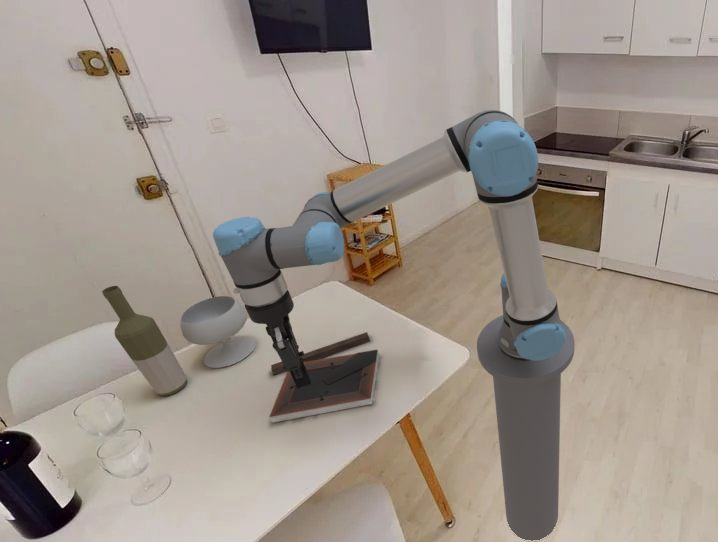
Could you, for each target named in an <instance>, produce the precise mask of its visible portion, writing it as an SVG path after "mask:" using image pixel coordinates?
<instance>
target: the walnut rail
mask: <svg viewBox="0 0 718 542" xmlns="http://www.w3.org/2000/svg"><path fill="white" fill-rule="evenodd" d="M369 342H371V340H370V337H369V334H368V331H366V332H363V333H361V334H357V335H354V336H351V337H348V338H345V339H343V340H339V341H337V342H334V343H331V344H328V345H325V346H321V347H319V348H317V349H313V350H311V351H308V352H304V355H303V356H300V357H299V358H302V360H303V362H307V361H313V360H319V359H325V358H328V357H330V356H333V355H335V354H338V353H341V352H344V351H347V350H350V349H353V348H355V347H359V346H361V345H364V344H367V343H369ZM270 369H271V372H272V374H273V376H276V375H279V374H282V373H284V372H285V373H286V372H288V371H287V370H284V364H283V362H282V361H279V362H276V363H273V364H271V365H270Z"/></svg>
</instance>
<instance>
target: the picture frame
mask: <svg viewBox="0 0 718 542" xmlns="http://www.w3.org/2000/svg"><path fill="white" fill-rule="evenodd" d="M379 359H380V353H379V350H378V349H373V350H366V351H360V352H356V353H350V354H345V355H339V356H333V357H325V358H322V359H319V360H313V361H307V362H304V365H305V367H306V370H307V372H308V374H309V377H310V379H311V384H308V385H306V386H303V387H301V388H298V389H297V386H296V384H295V382H294V380H293V377H292V375H291V373H290V371H289V372H288V371H286V375H285V377H284V380H283V381H282V384H281V387H280V390H279V392H278V394H277V397H276V399H275V402H274V405H273V407H272V410H271V412H270V414H269V420H270V421H271V423H278V422H283V421H291V420H295V419H299V418H305V417H311V416H315V415H321V414H325V413H330V412H336V411H341V410H342V411H343V410H347V409H353V408H356V407H357V408H359V407H362V406H363V407H364V406H367V405H373V402H374V395H375V394H374V393H375V387H376V380H377V373H378V366H379Z"/></svg>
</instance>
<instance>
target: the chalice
mask: <svg viewBox="0 0 718 542" xmlns="http://www.w3.org/2000/svg"><path fill="white" fill-rule="evenodd" d="M247 319H248V313H247V310H246V308H245V306H244V305H243V304H242V303H241V302H240V301H238V300H237V299H236V298H234V297H232V296H228V295H221V296H213V297H210V298H205V299H204V300H201V301H198V302H197V303H195V304H193V305H191V306H190V307H189V308H187V309H186V310H185V311H184V312H183V313H182V315H181V318H180V322H179V323H180V330H181V334H182V337H183V338H184V339H185V340H186V341H187V342H189V343H191V344H192V345H193V344H194V345H198V346H208V345H214V344H216V345H215V346H213V347H212V348H211V349H210V350H209V351H208V352H207V353H206V354H205V356H204V359H203V363H204V365H205V366H206V367H208V368H213V369H219V368H225V367H228V366H231V365H234V364H236V363H238V362H240V361H242V360H244V359H245V358H246V357H248V356H249V355H250V354H251V353H252V352H253V351H254V349H255V348H256V345H257V342H256V339H254V338H253V337H252V336H247V335H246V336H245V335H244V336H242V335H241V336H235V335H236V334H238V333H239V332H240V331H241V330H242V329H243V328H244V326H245V324H246V322H247V321H248V320H247ZM233 336H234V337H233Z"/></svg>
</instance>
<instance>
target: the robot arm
mask: <svg viewBox="0 0 718 542" xmlns="http://www.w3.org/2000/svg"><path fill="white" fill-rule="evenodd" d="M443 132H444V133H443V136H442V137H440V138H438V139H436V140H434V141H432V142H430V143H428V144H425V145H424V146H422V147H420V148H418V149H416V150H413V151H411V152H409V153H407V154H405V155H404V156H401V157H399V158H397V159H395V160H392V161H391V162H388V163H386V164H385V165H383V166H380V167H378V168H377V169H375V170H373V171H369V172H368V173H367V174H364V175H361V176H360V177H358V178H356V179H354V180H352V181H350V182H348V183H346V184H344V185H342V186H340V187H338V188H336V189H333V190H332V191H329V192H328V191H323V192H318V193H315V194H314V195H313V196H311V197H310V198H309V199H308V200H307V202H306V203H305V204H304V206H303V209H302V211H301V212H300V213H299V214H298V217H297V218H296V219H295V221H294V222H293V224H292V225H289V226H282V227H271V228H270V227H269V228H266V227H265V225H264V224H263V222H262V221H261V220H260V219H259V218H258V217H253V216H252V217H250V216H242V217H237V218H232V219H230V220H227V221H224V222H223V223H220V224H219V225H218V226H217V227H216V228H215V229H214V230H213V232H212V238H213V240H214V243H215V246H216V248H217V251H218V255H219V257H220V258H221V259H222V262H223V263H224V265H225V267H226V269H227V271H228V274H229V275H230V277H231V279H232V281H233V284H234V286H235V288H233V293H234V294H239V297H240V299H241V301H242V303H243V304H244V308H245V310H246V313H247V316H248V317H249V319H250V320H251V321H252V323H254V324H259V325H266V326H265V331H266V333H267V335H268V336H269V337H270V339H271V341H272V348H273V349H274V351H275V352H276V353H277V355H278V357H279V359H280V360H281V362H283V364H284V370H287V371H286V372H289V371H290V373H291V375H292V377H293V380H294V382H295V384H296V386H297V389H298V388H301V387H303V386H306V385H308V384H311V379H310V377H309V374H308V372H307V370H306V367H305V365H304V362H303V360H302V358H299V357H300V356H303V355H304V354H305V352H304V350H301V351H300V350H299V348H300V345H298V342H297V339H296V337H295V334H294V332H293V327H292V324H291V321H290V320H291V319H290V316H289V315H290V313H291V312H292V311H293V309H294V308H295V307H294V306H295V305H294V301H293V298H292V296H291V293H290V291H289V290H288V285H287V282H286V280H285V277H284V275H283V272H282V270H285V269H291V268H300V267H308V266H309V267H310V266H320V265H322V266H323V265H325V264H329V263H333V262H337V261H338V262H339V261H340V260H341V259H342V258H343V256H344V253H345V240H344V234H343V231H342V228H344V227H347V226H349V225H350V224H353V223H354V222H356V221H359V220H360V219H363V218H365V217H367V216H369V215H371V214H372V213H373V214H374V213H375V212H377V211H379V210H381V209H384V208H385V207H387V206H390V205H392V204H394V203H396V202H398V201H400V200H403V199H404V198H406V197H409V196H410V195H413V194H414V193H416V192H419V191H420V190H422V189H425V188H428V187H429V186H431V185H433V184H435V183H438V182H439V181H442V180H444V179H446V178H448V177H450V176H452V175H455V174H456V173H459V172H462V173H465V174H467V173H470V172H471V175H472V178H473V183H474V186H475V191H476V194H477V198H478V201H479V202H481V203H483V204H484V205H486V206H488V210H489V214H490V218H491V223H492V227H493V231H494V236H495V240H496V244H497V248H498V253H499V258H500V261H501V266H502V269H503V273H502V274H501V276H500V284H499V286H500V289H501V305H502V315H503V319H504V320H503V323H502V326H501V330H500V332H499V337H498V341H499V347H500V349H501V351H502V352H503V353H504V354H505V355H507V356H508V357H510V358H513V359H517V360H532V361H540V360H544V359H547V358H550V357H552V356H554V355H555V354H557V353H558V351H559V350H561V349H562V348H563V346H564V344H565V342H566V334H565V329H564V327H563V326H562V324H561V321H562V320H561V317H560V312H559V306H558V301H557V295H556V294H555V292H554V291H552V290H551V289H549V288H548V287H549V286H548V281H547V276H546V270H545V265H544V258H543V253H542V248H541V247H542V246H541V241H540V237H539V229H538V225H537V219H536V213H535V208H534V207H535V206H534V202H533V196H534V195H535V194H536V193H537V191H538V190H539V184H538V178H537V177H538V175H537V173H538V169H539V155H538V150H537V147H536V144H535V141H534V139H533V138H532V137H531V135H530V133H528V131H527V130H526V129H525V128H523V127H522V126H521V125H520V124H519V123H518V122H517V121H516V119H515V118H514V117H513V116H511V115H510V114H508V113H506V112H505V111H502V110H497V109H487V110H483V111H480V112H478V113H475V114H473V115H472V116H470V117H467V118H466V119H464V120H462V121H460V122H458V123H457V124H455V125H453V126H451V127H449V128H447V129H445V130H444V131H443ZM560 320H561V321H560Z"/></svg>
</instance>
